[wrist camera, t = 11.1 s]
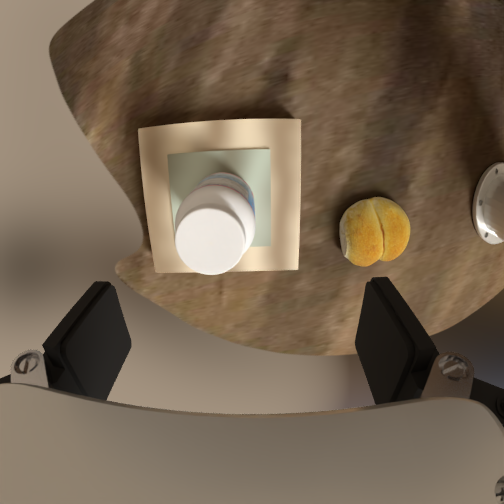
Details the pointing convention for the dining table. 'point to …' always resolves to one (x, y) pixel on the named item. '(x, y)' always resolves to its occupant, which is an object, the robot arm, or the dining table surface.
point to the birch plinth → (234, 162)
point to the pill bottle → (215, 224)
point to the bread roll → (373, 231)
